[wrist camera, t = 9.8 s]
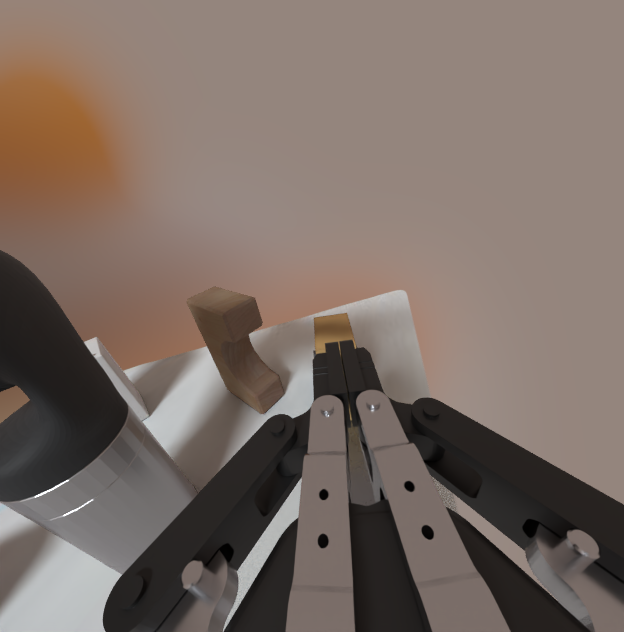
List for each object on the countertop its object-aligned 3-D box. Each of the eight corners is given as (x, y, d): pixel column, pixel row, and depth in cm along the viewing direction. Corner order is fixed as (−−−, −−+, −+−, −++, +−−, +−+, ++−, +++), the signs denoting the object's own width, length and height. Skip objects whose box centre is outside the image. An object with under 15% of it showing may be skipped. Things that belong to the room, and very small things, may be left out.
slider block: (362, 419, 37) (355, 345, 30) (329, 422, 37) (315, 350, 30) (353, 380, 44) (346, 313, 37) (325, 383, 44) (313, 317, 37)
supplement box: (141, 392, 51) (98, 334, 44) (150, 416, 45) (103, 353, 38) (88, 422, 46) (30, 362, 39) (91, 453, 40) (23, 389, 33)
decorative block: (286, 394, 44) (256, 296, 34) (262, 417, 41) (221, 315, 31) (250, 372, 51) (216, 284, 41) (226, 389, 48) (184, 299, 38)
